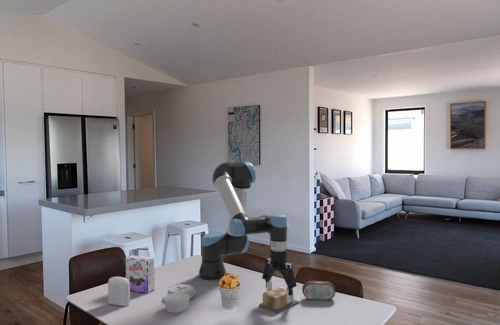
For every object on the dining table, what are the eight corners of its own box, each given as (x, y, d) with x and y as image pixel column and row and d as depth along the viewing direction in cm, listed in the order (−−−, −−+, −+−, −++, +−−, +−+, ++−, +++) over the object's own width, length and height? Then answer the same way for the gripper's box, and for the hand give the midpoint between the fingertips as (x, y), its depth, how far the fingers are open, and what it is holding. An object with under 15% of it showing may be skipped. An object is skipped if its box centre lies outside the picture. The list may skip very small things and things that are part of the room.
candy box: (125, 290, 184) (124, 257, 184) (133, 286, 190) (132, 254, 190) (147, 293, 179) (147, 260, 179) (155, 289, 185) (154, 257, 184)
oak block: (276, 309, 157) (293, 301, 166) (276, 298, 157) (293, 290, 166) (262, 304, 163) (279, 297, 171) (262, 293, 163) (279, 286, 171)
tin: (334, 298, 171) (334, 280, 171) (335, 301, 168) (335, 283, 168) (302, 297, 173) (302, 279, 172) (302, 300, 169) (302, 282, 169)
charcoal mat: (258, 306, 163) (258, 304, 163) (280, 296, 174) (280, 295, 174) (277, 313, 155) (277, 311, 155) (299, 303, 166) (299, 301, 166)
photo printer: (131, 303, 168) (131, 276, 167) (125, 307, 164) (125, 279, 163) (112, 301, 171) (112, 274, 171) (106, 304, 167) (106, 277, 166)
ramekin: (161, 306, 164) (161, 294, 164) (186, 302, 169) (186, 290, 169) (166, 316, 154) (166, 303, 154) (192, 311, 159) (192, 299, 158)
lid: (199, 296, 175) (199, 286, 175) (178, 305, 166) (178, 294, 166) (183, 290, 184) (183, 280, 184) (162, 297, 174) (161, 287, 174)
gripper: (254, 246, 169) (254, 294, 170) (294, 256, 154) (294, 308, 154) (264, 244, 175) (265, 290, 175) (304, 252, 159) (305, 303, 159)
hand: (279, 298), depth 165 cm, fingers open, 10 cm apart
